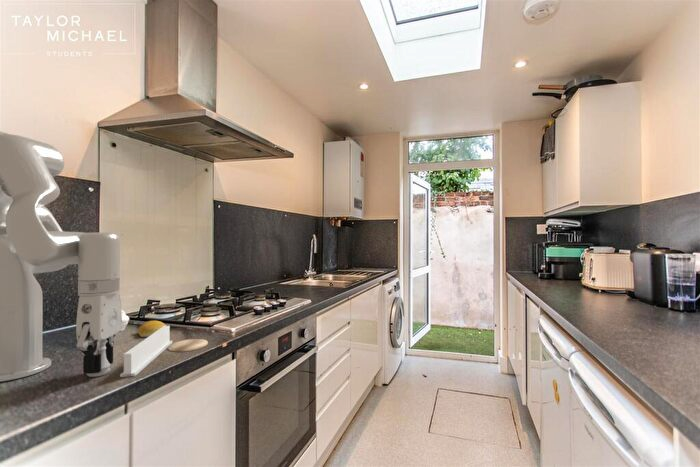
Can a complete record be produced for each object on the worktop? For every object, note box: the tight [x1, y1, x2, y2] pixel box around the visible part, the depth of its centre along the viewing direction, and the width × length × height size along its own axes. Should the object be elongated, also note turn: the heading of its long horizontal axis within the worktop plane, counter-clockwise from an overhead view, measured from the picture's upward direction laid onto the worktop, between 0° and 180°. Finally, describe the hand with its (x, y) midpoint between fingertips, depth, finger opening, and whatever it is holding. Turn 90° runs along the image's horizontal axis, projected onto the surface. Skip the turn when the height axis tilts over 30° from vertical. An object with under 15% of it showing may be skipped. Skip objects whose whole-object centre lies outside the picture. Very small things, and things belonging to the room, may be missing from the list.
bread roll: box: [137, 320, 168, 338], centre depth 108 cm, size 8×9×4 cm
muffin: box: [119, 309, 130, 332], centre depth 111 cm, size 6×6×7 cm
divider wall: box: [119, 325, 173, 378], centre depth 86 cm, size 3×24×5 cm, turn 10°
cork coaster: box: [167, 338, 209, 353], centre depth 95 cm, size 10×10×1 cm
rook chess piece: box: [86, 338, 112, 378], centre depth 76 cm, size 4×4×8 cm
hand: (98, 367), depth 76 cm, fingers closed on rook chess piece, 4 cm apart
